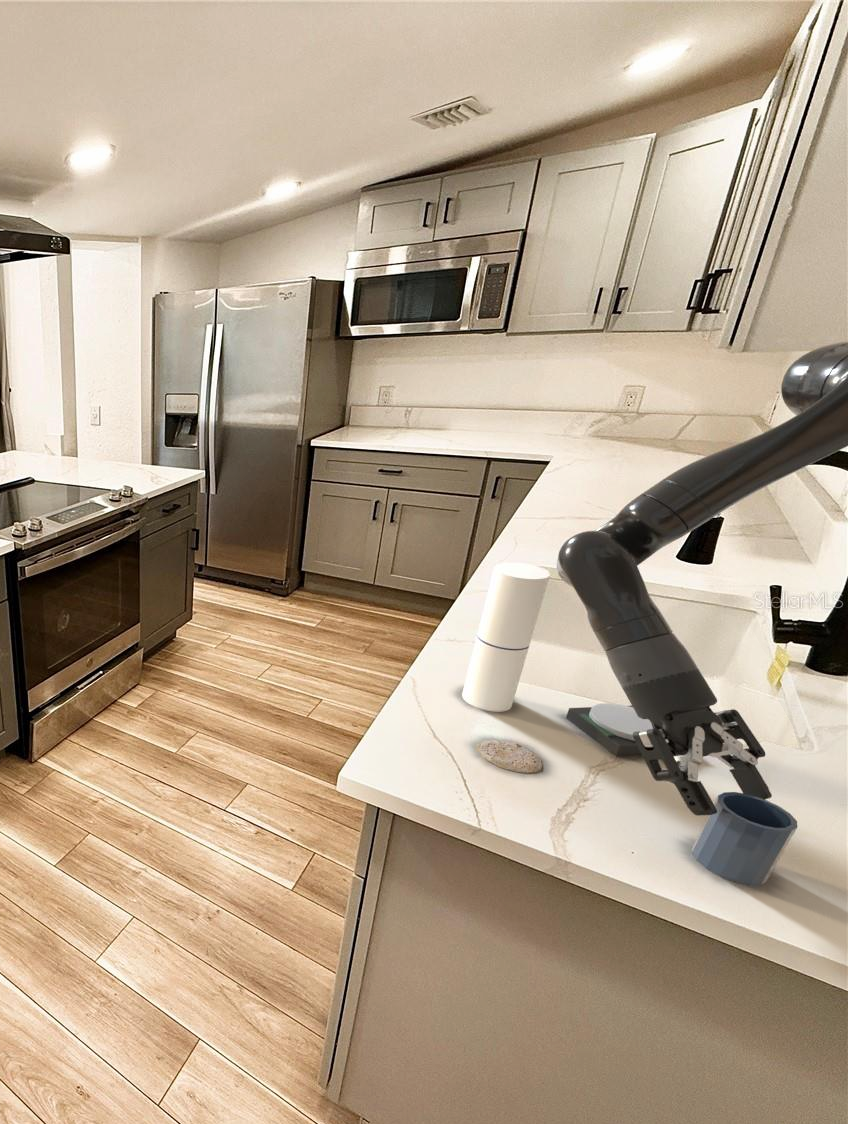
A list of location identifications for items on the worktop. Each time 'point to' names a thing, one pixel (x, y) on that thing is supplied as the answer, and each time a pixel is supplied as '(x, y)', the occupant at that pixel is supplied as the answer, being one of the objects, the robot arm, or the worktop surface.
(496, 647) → the cylindrical container
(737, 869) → the tumbler
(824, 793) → the worktop surface
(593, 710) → the scale
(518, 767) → the flatbread
